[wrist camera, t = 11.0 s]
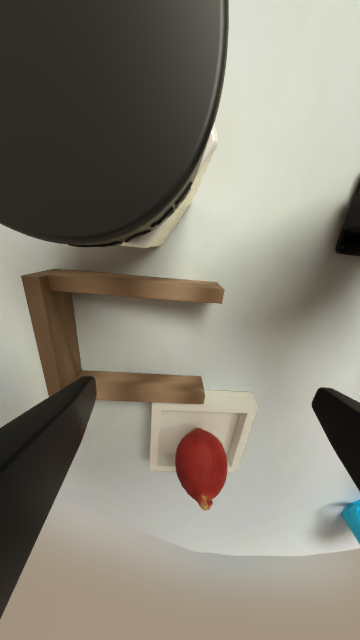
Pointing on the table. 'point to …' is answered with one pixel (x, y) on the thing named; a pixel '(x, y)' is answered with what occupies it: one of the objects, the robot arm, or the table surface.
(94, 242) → the jar
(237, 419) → the tray
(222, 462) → the onion
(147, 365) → the table surface
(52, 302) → the bay
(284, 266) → the table surface
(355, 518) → the mug
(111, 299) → the table surface
